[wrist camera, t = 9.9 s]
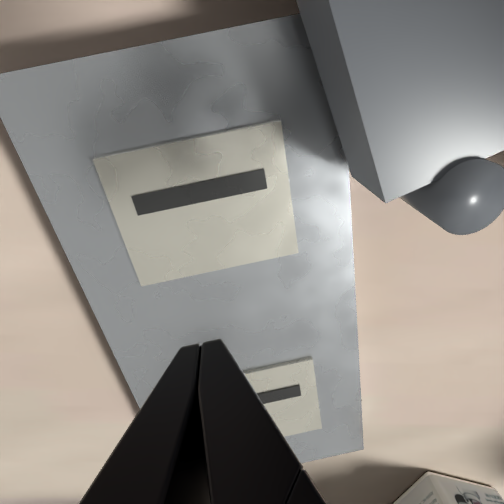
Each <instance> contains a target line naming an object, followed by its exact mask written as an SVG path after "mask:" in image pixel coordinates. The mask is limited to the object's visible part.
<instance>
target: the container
mask: <svg viewBox="0 0 504 504" xmlns="http://www.w3.org/2000/svg"><path fill="white" fill-rule="evenodd" d="M393 504H504V500H503V499H502V497H501V496H500V494H499V493H498V491H497V490H496V489H495V488H492V487H489V486H485V485H481V484H477V483H473V482H469V481H465V480H461V479H457V478H453V477H449V476H445V475H441V474H437V473H433V472H426V473H425V474H424V475H423V476H422V477H421V478H420V479H418V480H417V481H416V482H415V483H414V484H413V485H412V486H411V487H410V488H409V489H408V490H407V491H406V492H405V493H404V494H403V495H401V496H400V497H399V498H398V499H397V500H396V501H395V502H394V503H393Z"/></svg>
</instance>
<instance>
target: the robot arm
mask: <svg viewBox="0 0 504 504" xmlns="http://www.w3.org/2000/svg"><path fill="white" fill-rule="evenodd" d="M79 504H327V503H326V501H325V500H324V498H323V497H322V495H321V494H320V492H319V491H318V489H317V488H316V486H315V484H314V483H313V481H312V480H311V478H310V477H309V475H308V473H307V472H306V471H305V470H303V466H302V464H301V463H300V461H299V460H298V458H297V457H296V455H295V453H294V452H293V450H292V449H291V447H290V445H289V444H288V442H287V441H286V439H285V438H284V436H283V434H282V433H281V431H280V430H279V428H278V427H277V425H276V423H275V422H274V420H273V419H272V417H271V415H270V414H269V412H268V411H267V409H266V408H265V406H264V404H263V403H262V401H261V400H260V398H259V397H258V395H257V393H256V392H255V390H254V389H253V387H252V385H251V384H250V382H249V381H248V379H247V378H246V376H245V374H244V373H243V371H242V370H241V368H240V367H239V365H238V363H237V362H236V360H235V359H234V357H233V355H232V354H231V352H230V351H229V349H228V348H227V346H226V344H225V343H224V341H223V340H222V339H215V340H211V341H206V342H204V343H203V344H202V345H201V344H199V343H197V344H192V345H187V346H183V347H181V348H180V349H179V350H178V352H177V353H176V355H175V356H174V358H173V360H172V361H171V363H170V364H169V366H168V367H167V369H166V370H165V372H164V373H163V375H162V376H161V378H160V380H159V381H158V383H157V384H156V386H155V387H154V389H153V390H152V392H151V393H150V395H149V396H148V398H147V400H146V401H145V403H144V404H143V406H142V407H141V409H140V410H139V412H138V413H137V415H136V416H135V418H134V420H133V421H132V423H131V424H130V426H129V427H128V429H127V430H126V432H125V433H124V435H123V437H122V438H121V440H120V441H119V443H118V444H117V446H116V447H115V449H114V450H113V452H112V453H111V455H110V457H109V458H108V460H107V461H106V463H105V464H104V466H103V467H102V469H101V470H100V472H99V473H98V475H97V477H96V478H95V480H94V481H93V483H92V484H91V486H90V487H89V489H88V490H87V492H86V494H85V495H84V497H83V498H82V500H81V501H80V503H79Z"/></svg>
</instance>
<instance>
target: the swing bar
mask: <svg viewBox="0 0 504 504" xmlns="http://www.w3.org/2000/svg"><path fill="white" fill-rule="evenodd" d="M296 2H297V5H298V8H299V12H300V15H301V18H302V21H303V24H304V27H305V30H306V34H307V37H308V40H309V43H310V46H311V49H312V52H313V56H314V59H315V62H316V65H317V68H318V71H319V74H320V78H321V81H322V84H323V87H324V90H325V93H326V96H327V100H328V103H329V106H330V109H331V112H332V115H333V118H334V122H335V125H336V128H337V131H338V134H339V137H340V140H341V144H342V147H343V150H344V153H345V156H346V159H347V162H348V166H349V169H350V172H351V175H352V177H353V178H355V179H356V180H357V181H358V182H360V183H361V184H362V185H363V186H365V187H366V188H367V189H368V190H370V191H371V192H372V193H373V194H375V195H376V196H377V197H378V198H380V199H381V200H382V201H383V202H385V203H387V202H390V201H392V200H394V199H396V198H401V199H402V200H403V201H405V202H406V203H408V204H409V205H411V206H412V207H413V208H415V209H416V210H418V211H419V212H420V213H422V214H423V215H425V216H426V217H427V218H429V219H430V220H432V221H433V222H434V223H436V224H437V225H439V226H440V227H442V228H443V229H444V230H446V231H447V232H449V233H452V234H456V235H466V234H471V233H475V232H477V231H479V230H481V229H483V228H485V227H487V226H488V225H489V224H491V223H492V222H493V221H494V220H495V219H496V218H497V217H498V216H499V215H500V213H501V212H502V211H503V209H504V168H503V167H502V166H500V165H498V164H496V163H494V162H491V161H488V160H485V158H488V157H490V156H492V155H494V154H497V153H499V152H501V151H503V150H504V0H296Z"/></svg>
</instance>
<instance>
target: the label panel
mask: <svg viewBox="0 0 504 504" xmlns="http://www.w3.org/2000/svg"><path fill="white" fill-rule="evenodd" d="M0 118H1V120H2V122H3V124H4V126H5V128H6V130H7V132H8V134H9V136H10V139H11V141H12V143H13V145H14V147H15V149H16V151H17V153H18V155H19V157H20V159H21V162H22V164H23V166H24V168H25V170H26V172H27V174H28V176H29V178H30V180H31V182H32V185H33V187H34V189H35V191H36V193H37V195H38V197H39V199H40V201H41V203H42V205H43V208H44V210H45V212H46V214H47V216H48V218H49V220H50V222H51V224H52V226H53V228H54V231H55V233H56V235H57V237H58V239H59V241H60V243H61V245H62V247H63V249H64V252H65V254H66V256H67V258H68V260H69V262H70V264H71V266H72V268H73V270H74V272H75V275H76V277H77V279H78V281H79V283H80V285H81V287H82V289H83V291H84V293H85V295H86V298H87V300H88V302H89V304H90V306H91V308H92V310H93V312H94V314H95V316H96V318H97V321H98V323H99V325H100V327H101V329H102V331H103V333H104V335H105V337H106V339H107V341H108V344H109V346H110V348H111V350H112V352H113V354H114V356H115V358H116V360H117V362H118V364H119V367H120V369H121V371H122V373H123V375H124V377H125V379H126V381H127V383H128V385H129V387H130V390H131V392H132V394H133V396H134V398H135V400H136V402H137V404H138V406H139V408H140V409H141V407H142V406H143V404H144V403H145V401H146V400H147V398H148V396H149V395H150V393H151V392H152V390H153V389H154V387H155V386H156V384H157V383H158V381H159V380H160V378H161V376H162V375H163V373H164V372H165V370H166V369H167V367H168V366H169V364H170V363H171V361H172V360H173V358H174V356H175V355H176V353H177V352H178V350H179V349H180V348H181V347H183V346H187V345H192V344H197V343H199V344H201V345H202V344H203V343H204V342H206V341H211V340H215V339H222V340H223V341H224V343H225V344H226V346H227V348H228V349H229V351H230V352H231V354H232V355H233V357H234V359H235V360H236V362H237V363H238V365H239V367H240V368H241V370H242V371H243V373H244V374H245V376H246V378H247V379H248V381H249V382H250V384H251V385H252V387H253V389H254V390H255V392H256V393H257V395H258V397H259V398H260V400H261V401H262V403H263V404H264V406H265V408H266V409H267V411H268V412H269V414H270V415H271V417H272V419H273V420H274V422H275V423H276V425H277V427H278V428H279V430H280V431H281V433H282V434H283V436H284V438H285V439H286V441H287V442H288V444H289V445H290V447H291V449H292V450H293V452H294V453H295V455H296V457H297V458H298V460H299V461H300V463H304V462H309V461H313V460H318V459H322V458H327V457H331V456H336V455H340V454H345V453H349V452H354V451H358V450H363V449H364V446H363V427H362V408H361V388H360V369H359V350H358V331H357V312H356V293H355V274H354V255H353V236H352V217H351V198H350V179H349V166H348V162H347V159H346V156H345V153H344V150H343V147H342V144H341V140H340V137H339V134H338V131H337V128H336V125H335V122H334V118H333V115H332V112H331V109H330V106H329V103H328V100H327V96H326V93H325V90H324V87H323V84H322V81H321V78H320V74H319V71H318V68H317V65H316V62H315V59H314V56H313V52H312V49H311V46H310V43H309V40H308V37H307V34H306V30H305V27H304V24H303V21H302V18H301V15H300V14H295V15H290V16H285V17H280V18H275V19H270V20H265V21H260V22H255V23H250V24H245V25H241V26H236V27H231V28H226V29H221V30H216V31H211V32H206V33H201V34H196V35H191V36H186V37H181V38H176V39H171V40H166V41H161V42H156V43H151V44H146V45H141V46H136V47H131V48H126V49H121V50H116V51H111V52H106V53H101V54H96V55H91V56H86V57H81V58H76V59H71V60H66V61H61V62H56V63H51V64H46V65H41V66H36V67H31V68H26V69H21V70H16V71H11V72H6V73H1V74H0Z"/></svg>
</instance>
